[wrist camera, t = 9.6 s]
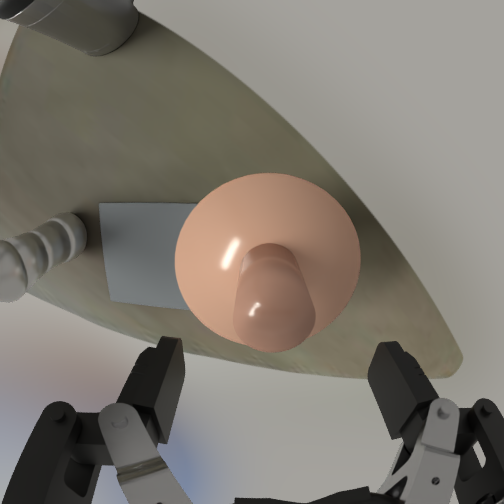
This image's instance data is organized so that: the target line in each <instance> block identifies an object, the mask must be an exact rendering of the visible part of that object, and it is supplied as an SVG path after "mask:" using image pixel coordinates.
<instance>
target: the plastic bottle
mask: <svg viewBox="0 0 504 504" xmlns="http://www.w3.org/2000/svg"><path fill="white" fill-rule="evenodd" d="M86 243H87V231H86V228H85V225H84V223H83V222H82V221H81V219H80V218H78V217H77V216H76V215H74V214H72V213H59V214H56V215H55V216H53V217H51V218H50V219H49V220H48V221H46V222H45V223H44V224H42V225H40V226H38V227H37V228H35V229H33V230H32V231H29V232H27V233H24V234H21V235H19V236H15V237H11V238H7V239H4V240H0V302H8V303H9V302H13V301H17V300H18V299H20V298H21V297H22V296H23V295H24V294H25V293H26V292H27V291H28V290H29V288H30V287H31V286H32V285H33V284H34V283H35V282H36V281H37V280H38V279H39V278H40V277H42V276H43V275H44V274H45V273H46V272H48V271H49V270H50V269H52V268H54V267H56V266H58V265H60V264H62V263H65V262H68V261H71V260H73V259H75V258H77V257H78V256H79V255H80V254H81V252H82V251H83V250H84V248H85V246H86Z"/></svg>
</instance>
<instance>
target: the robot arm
mask: <svg viewBox="0 0 504 504" xmlns="http://www.w3.org/2000/svg"><path fill="white" fill-rule="evenodd" d="M133 1H134V0H0V18H1V19H5V20H7V21H10V22H14V23H16V24H19V25H21V26H24V27H27V28H30V29H32V30H35V31H37V32H40V33H42V34H44V35H47V36H49V37H51V38H54V39H56V40H58V41H60V42H63V43H65V44H67V45H69V46H71V47H73V48H75V49H78V50H80V51H82V52H83V53H86V54H88V55H91V56H101V55H104V54H107V53H109V52H111V51H113V50H115V49H116V48H118V47H119V46H121V45H122V44H123V43H124V42H125V41H126V40H127V39H128V38H129V37H130V35H131V34H132V32H133V31H134V29H135V27H136V25H137V23H138V18H139V17H138V11H137V9H136V7H135V6H134V5H133ZM184 377H185V362H184V354H183V346H182V340H181V338H174V337H166V336H162V337H161V338H160V341H159V343H158V345H157V347H156V348H153V347H148V348H147V349H146V350H144V351H143V352H142V353H141V354H140V355H139V357H138V359H137V361H136V363H135V366H134V367H133V369H132V371H131V373H130V375H129V377H128V379H127V381H126V383H125V385H124V387H123V389H122V391H121V393H120V396H119V398H118V400H117V402H116V403H113V404H110V405H108V406H106V407H105V408H103V409H102V410H101V412H99V413H82V412H81V413H80V412H76V411H75V409H74V408H73V407H72V406H71V405H70V404H69V403H66V402H62V401H57V402H53V403H51V404H49V405H48V406H47V407H46V408H45V409H44V410H43V412H42V414H41V416H40V418H39V420H38V421H37V423H36V426H35V427H34V429H33V431H32V433H31V435H30V437H29V439H28V441H27V443H26V445H25V448H24V450H23V452H22V454H21V456H20V458H19V461H18V463H17V465H16V467H15V470H14V472H13V475H12V477H11V479H10V482H9V485H8V487H7V490H6V493H5V495H4V498H3V501H2V504H91V503H92V498H93V495H94V491H95V487H96V484H97V480H98V477H99V473H100V470H101V466H102V465H115V468H116V470H117V473H118V474H117V479H118V482H119V484H120V486H121V488H122V490H123V493H124V494H125V496H126V498H127V500H128V502H129V504H193V503H192V502H191V500H190V499H189V498H188V496H187V495H186V493H185V492H184V490H183V489H182V488H181V486H180V485H179V483H178V482H177V480H176V479H175V477H174V476H173V474H172V472H171V471H170V469H169V468H168V466H167V465H166V463H165V461H163V459H162V458H161V456H160V454H159V452H158V451H157V445H158V443H163V444H167V442H168V439H169V435H170V431H171V427H172V423H173V419H174V416H175V412H176V408H177V404H178V401H179V397H180V393H181V390H182V386H183V382H184ZM368 382H369V384H370V387H371V389H372V391H373V394H374V396H375V399H376V401H377V404H378V406H379V408H380V411H381V413H382V416H383V418H384V421H385V423H386V426H387V429H388V431H389V434H390V436H391V439H392V440H393V439H397V438H401V437H402V439H403V442H402V443H401V445H400V448H399V450H398V452H397V455H396V457H395V460H394V462H393V465H392V467H391V469H390V471H389V474H388V476H387V478H386V480H385V482H384V483H383V484H382V485H381V487H380V488H379V490H378V491H377V492H376V493H372V492H370V491H369V487H368V486H366V487H362V488H357V489H353V490H347V491H341V492H338V493H335V494H332V495H329V496H327V497H324V498H321V499H318V500H315V501H312V502H309V503H296V502H288V501H282V500H276V499H271V498H235V503H234V504H449V502H450V498H451V496H452V492H453V488H454V489H455V492H456V495H457V499H458V502H459V504H504V418H503V416H502V415H501V413H500V411H499V410H498V408H497V406H496V405H495V404H494V403H493V402H492V401H491V400H489V399H485V398H482V399H479V400H478V401H476V403H475V404H474V405H473V407H472V408H458V407H457V405H456V404H455V403H454V402H452V401H451V400H449V399H445V398H439V396H438V394H437V393H436V391H435V389H434V388H433V386H432V385H431V383H430V381H429V380H428V378H427V376H426V375H424V372H423V370H422V368H420V365H419V364H418V362H417V361H416V359H415V358H414V357H413V356H411V355H410V354H409V353H408V352H404V351H403V349H402V347H401V346H400V344H399V343H398V342H397V341H392V342H381V343H379V344H378V346H377V349H376V351H375V354H374V357H373V359H372V362H371V364H370V367H369V370H368ZM477 441H479V444H480V446H481V448H482V450H483V452H484V455H485V457H486V462H485V465H484V467H483V468H482V467H481V465H480V463H479V460H478V458H477V456H476V454H475V451H474V449H473V445H474V444H475V443H476V442H477Z"/></svg>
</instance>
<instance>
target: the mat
mask: <svg viewBox="0 0 504 504" xmlns="http://www.w3.org/2000/svg"><path fill="white" fill-rule="evenodd" d="M197 205H198V203H99V214H100V226H101V237H102V246H103V254H104V262H105V269H106V276H107V282H108V288H109V293H110V299H111V301H116V302H123V303H131V304H139V305H147V306H156V307H165V308H175V309H185V310H190V308H189V307H188V305H187V303H186V302H185V300H184V298H183V296H182V294H181V291H180V289H179V286H178V282H177V279H176V272H175V251H176V245H177V241H178V238H179V234H180V231H181V229H182V227H183V225H184V223H185V221H186V219H187V218H188V216H189V215H190V213H191V212H192V210H193V209H194V208H195V207H196V206H197Z"/></svg>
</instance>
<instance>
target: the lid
mask: <svg viewBox="0 0 504 504" xmlns="http://www.w3.org/2000/svg"><path fill="white" fill-rule="evenodd" d="M360 265H361V252H360V245H359V240H358V236H357V233H356V230H355V228H354V225H353V223H352V221H351V219H350V217H349V216H348V214H347V213H346V211H345V210H344V208H343V207H342V206H341V205H340V204H339V203H338V202H337V201H336V199H334V198H333V197H332V196H331V195H330V194H328V193H327V192H326V191H325V190H323V189H321V188H320V187H318V186H317V185H315V184H313V183H311V182H308V181H306V180H304V179H301V178H299V177H295V176H292V175H288V174H281V173H257V174H250V175H246V176H242V177H239V178H236V179H233V180H231V181H229V182H227V183H224V184H223V185H221V186H220V187H218V188H216V189H215V190H213V191H212V192H211V193H209V194H208V195H207V196H206V197H205V198H204V199H202V200H201V201H200V202H199V203H198V205H197V206H196V207H195V208H194V209H193V210H192V212H191V213H190V215H189V216H188V218H187V219H186V221H185V223H184V225H183V227H182V229H181V231H180V234H179V238H178V241H177V245H176V251H175V272H176V279H177V282H178V286H179V289H180V291H181V294H182V296H183V298H184V300H185V302H186V303H187V305H188V307H189V308H190V310H191V311H192V312H193V313H194V315H195V316H196V317H197V318H198V319H199V320H200V321H201V322H202V323H203V324H204V325H205V326H207V327H208V328H209V329H211V330H212V331H214V332H215V333H217V334H219V335H220V336H222V337H224V338H226V339H229V340H231V341H234V342H237V343H240V344H244V345H248V346H250V347H251V348H254V349H256V350H259V351H263V352H282V351H286V350H289V349H292V348H294V347H296V346H298V345H299V344H301V343H302V342H303V341H304V340H305V339H306V338H309V337H311V336H313V335H315V334H316V333H318V332H319V331H321V330H322V329H324V328H325V327H326V326H328V325H329V324H330V323H331V322H333V321H334V320H335V318H336V317H337V316H338V315H339V314H340V313H341V312H342V311H343V309H344V308H345V307H346V305H347V304H348V302H349V300H350V298H351V297H352V295H353V292H354V290H355V287H356V285H357V281H358V278H359V273H360Z"/></svg>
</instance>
